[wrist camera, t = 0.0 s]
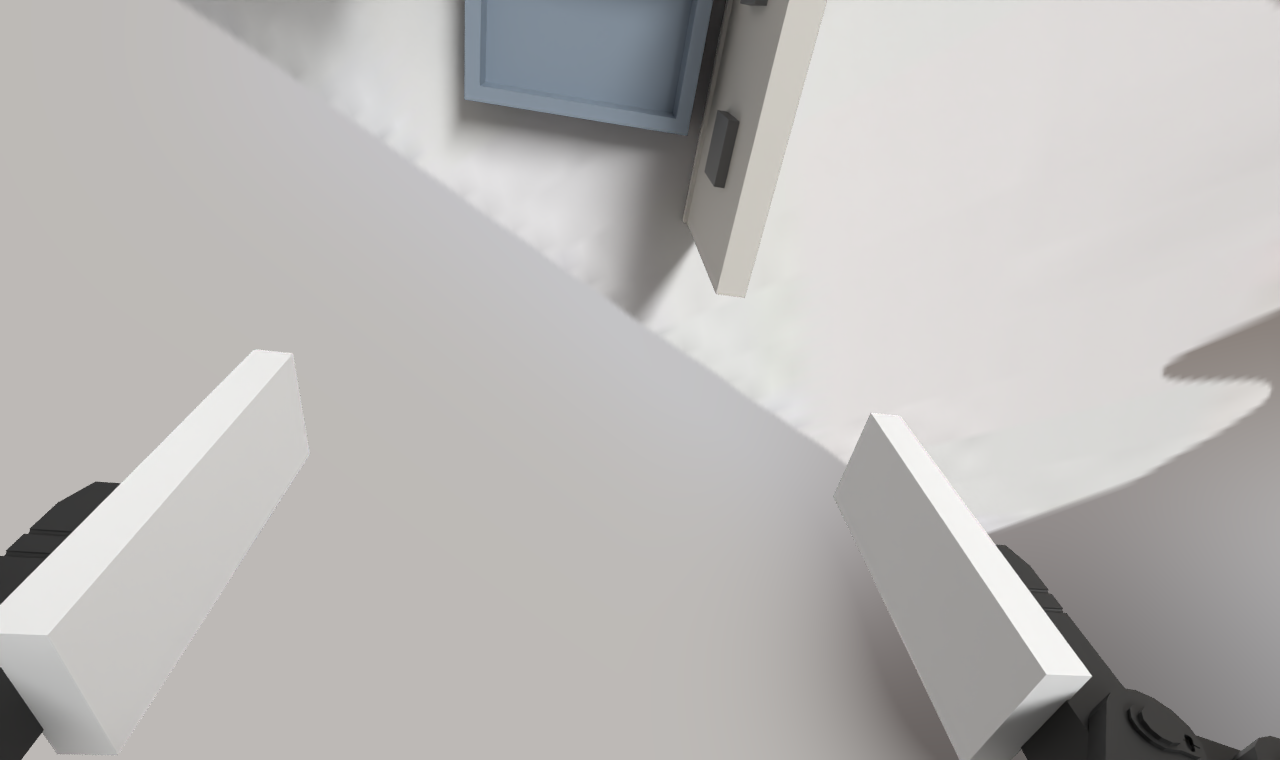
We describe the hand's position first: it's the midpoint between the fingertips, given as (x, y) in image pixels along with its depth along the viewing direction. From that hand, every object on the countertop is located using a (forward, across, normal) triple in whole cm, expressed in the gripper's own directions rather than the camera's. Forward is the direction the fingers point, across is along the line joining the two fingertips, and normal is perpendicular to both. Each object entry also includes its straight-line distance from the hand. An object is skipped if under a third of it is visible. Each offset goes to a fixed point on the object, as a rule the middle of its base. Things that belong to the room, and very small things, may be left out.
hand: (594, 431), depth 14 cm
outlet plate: (+28, +9, +7) cm, 30 cm away
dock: (+28, -1, +7) cm, 29 cm away
